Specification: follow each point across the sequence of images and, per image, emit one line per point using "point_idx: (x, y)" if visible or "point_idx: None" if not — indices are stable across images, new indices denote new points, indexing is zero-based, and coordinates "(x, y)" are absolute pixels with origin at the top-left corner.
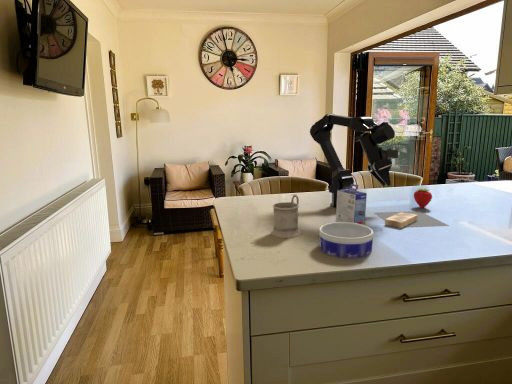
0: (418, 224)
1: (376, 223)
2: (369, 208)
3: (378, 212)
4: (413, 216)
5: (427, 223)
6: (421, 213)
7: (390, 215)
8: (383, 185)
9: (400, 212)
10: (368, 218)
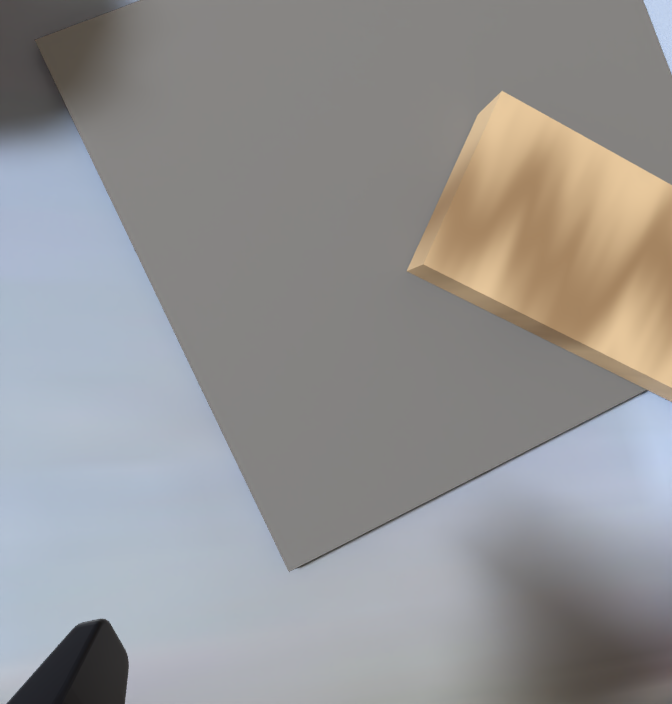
0: (616, 120)
1: (641, 498)
2: (42, 639)
3: (263, 517)
4: (585, 144)
5: (561, 30)
6: (162, 36)
7: (359, 382)
8: (125, 652)
9: (450, 277)
10: (494, 590)
